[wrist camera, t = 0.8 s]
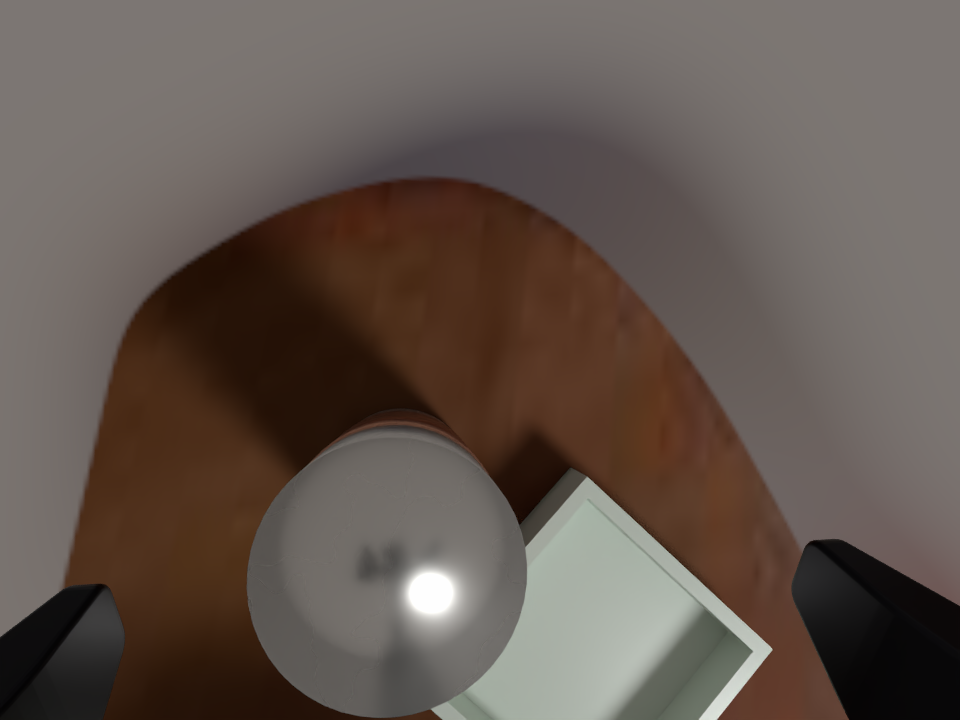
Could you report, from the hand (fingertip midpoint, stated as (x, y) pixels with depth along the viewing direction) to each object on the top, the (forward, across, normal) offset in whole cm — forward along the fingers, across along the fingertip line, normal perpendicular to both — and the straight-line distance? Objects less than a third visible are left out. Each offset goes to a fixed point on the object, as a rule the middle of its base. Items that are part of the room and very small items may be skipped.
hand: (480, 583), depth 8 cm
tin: (+15, +1, +10) cm, 18 cm away
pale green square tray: (+12, -6, +16) cm, 21 cm away
